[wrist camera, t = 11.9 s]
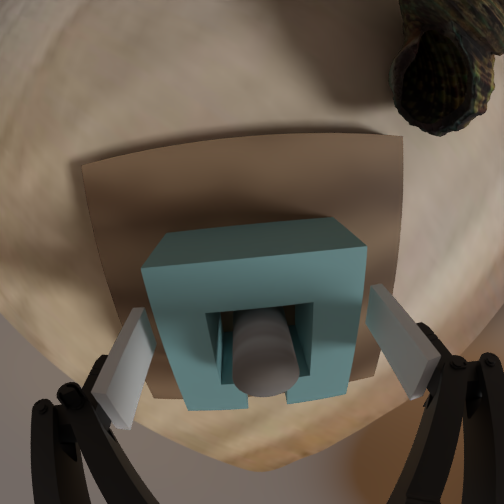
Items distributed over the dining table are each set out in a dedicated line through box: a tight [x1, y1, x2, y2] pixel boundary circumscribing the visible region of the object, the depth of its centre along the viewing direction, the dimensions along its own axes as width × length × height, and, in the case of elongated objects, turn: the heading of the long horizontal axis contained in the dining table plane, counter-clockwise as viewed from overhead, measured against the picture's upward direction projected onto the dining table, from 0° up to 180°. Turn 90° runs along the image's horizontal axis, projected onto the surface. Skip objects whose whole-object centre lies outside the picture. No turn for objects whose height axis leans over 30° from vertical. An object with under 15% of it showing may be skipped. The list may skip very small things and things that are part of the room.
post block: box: [81, 133, 403, 399], centre depth 16 cm, size 20×20×9 cm
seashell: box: [388, 0, 504, 137], centre depth 9 cm, size 11×11×10 cm
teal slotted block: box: [141, 217, 367, 411], centre depth 16 cm, size 10×10×5 cm
